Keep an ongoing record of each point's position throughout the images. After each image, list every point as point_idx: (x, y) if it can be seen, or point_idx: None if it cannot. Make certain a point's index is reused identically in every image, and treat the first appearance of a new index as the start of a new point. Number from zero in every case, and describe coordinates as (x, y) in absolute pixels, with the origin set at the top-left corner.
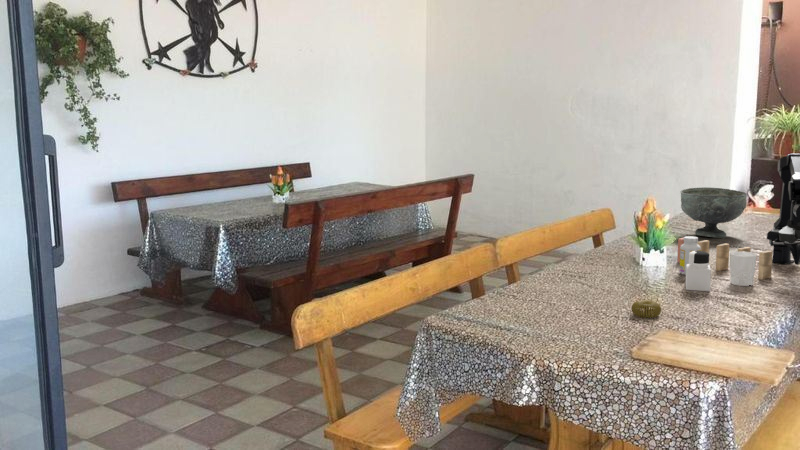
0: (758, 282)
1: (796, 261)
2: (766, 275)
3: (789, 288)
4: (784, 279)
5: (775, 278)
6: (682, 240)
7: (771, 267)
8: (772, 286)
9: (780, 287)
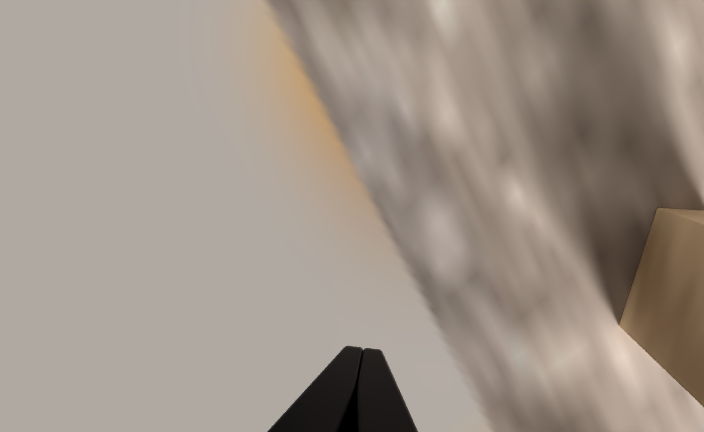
0: (651, 63)
1: (354, 373)
2: (660, 275)
3: (338, 71)
4: (505, 324)
5: (574, 311)
6: None
7: (691, 389)
8: (476, 16)
9: (406, 41)
